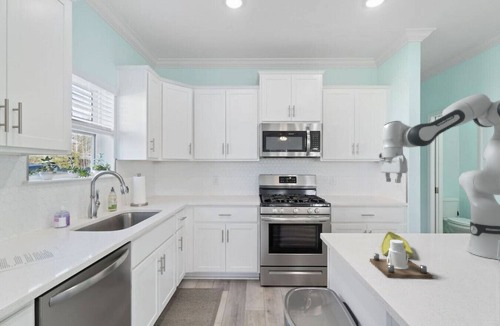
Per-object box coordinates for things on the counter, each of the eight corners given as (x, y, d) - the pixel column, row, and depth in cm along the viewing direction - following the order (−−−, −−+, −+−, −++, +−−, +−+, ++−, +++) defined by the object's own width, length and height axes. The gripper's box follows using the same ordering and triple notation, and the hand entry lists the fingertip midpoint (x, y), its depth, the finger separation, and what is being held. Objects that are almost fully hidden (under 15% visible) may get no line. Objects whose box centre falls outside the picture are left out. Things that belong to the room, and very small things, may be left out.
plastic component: (414, 254, 111) (390, 242, 114) (405, 268, 112) (382, 256, 116) (406, 239, 129) (386, 229, 132) (399, 251, 131) (379, 241, 134)
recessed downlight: (403, 263, 104) (402, 238, 104) (413, 269, 97) (411, 243, 97) (383, 263, 105) (382, 239, 105) (391, 270, 98) (390, 244, 98)
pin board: (408, 262, 108) (408, 253, 108) (432, 278, 92) (432, 268, 92) (369, 261, 109) (369, 252, 109) (387, 277, 93) (387, 267, 93)
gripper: (411, 152, 114) (411, 183, 114) (389, 155, 135) (389, 181, 134) (396, 153, 115) (397, 183, 114) (377, 155, 135) (377, 181, 135)
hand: (393, 182), depth 125 cm, fingers open, 8 cm apart
